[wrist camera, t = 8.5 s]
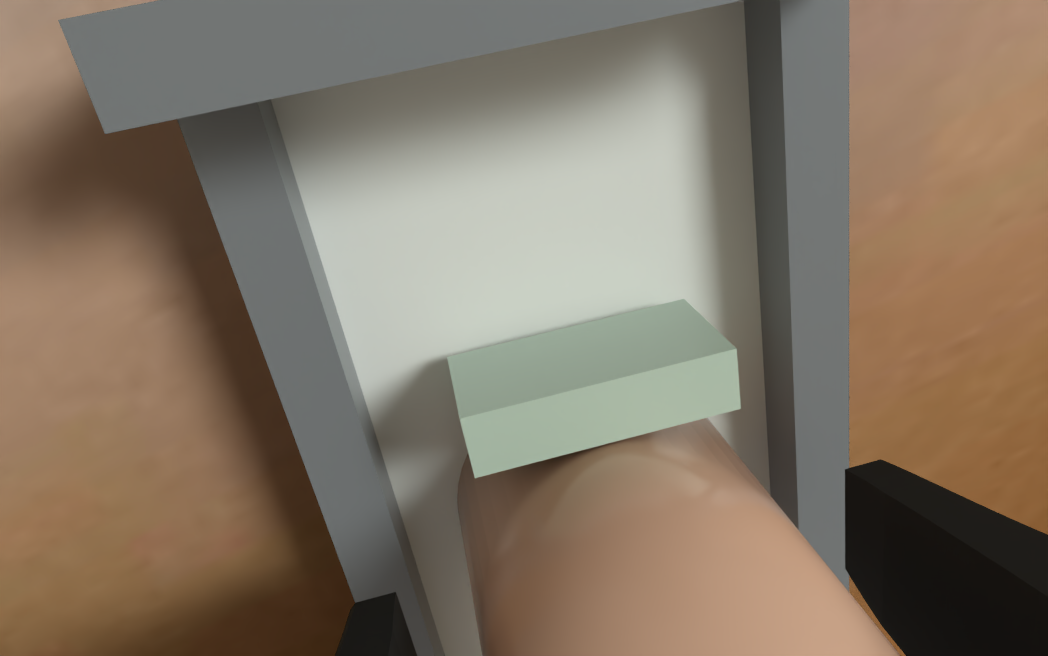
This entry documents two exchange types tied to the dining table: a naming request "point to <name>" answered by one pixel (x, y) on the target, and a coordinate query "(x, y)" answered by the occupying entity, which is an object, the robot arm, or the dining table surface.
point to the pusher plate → (592, 385)
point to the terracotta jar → (649, 558)
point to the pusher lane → (506, 225)
